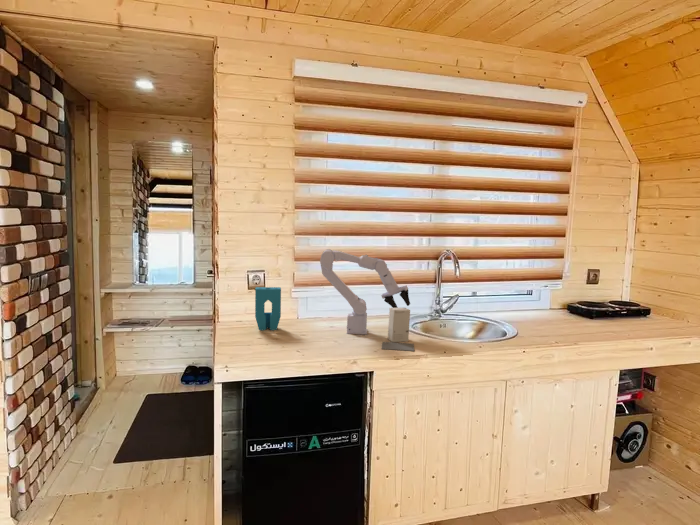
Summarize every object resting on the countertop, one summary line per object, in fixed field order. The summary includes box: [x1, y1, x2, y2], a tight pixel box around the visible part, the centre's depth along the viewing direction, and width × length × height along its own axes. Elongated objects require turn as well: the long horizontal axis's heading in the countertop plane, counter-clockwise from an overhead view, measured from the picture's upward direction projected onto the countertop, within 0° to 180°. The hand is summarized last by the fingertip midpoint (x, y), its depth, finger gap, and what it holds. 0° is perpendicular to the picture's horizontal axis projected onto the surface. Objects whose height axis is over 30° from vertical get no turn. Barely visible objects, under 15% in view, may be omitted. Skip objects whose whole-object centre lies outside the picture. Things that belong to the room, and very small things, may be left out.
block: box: [254, 286, 282, 331], centre depth 222 cm, size 12×5×20 cm, turn 100°
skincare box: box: [387, 307, 411, 343], centre depth 210 cm, size 8×6×15 cm
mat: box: [381, 341, 415, 352], centre depth 201 cm, size 14×10×1 cm
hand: (402, 307), depth 220 cm, fingers open, 7 cm apart
